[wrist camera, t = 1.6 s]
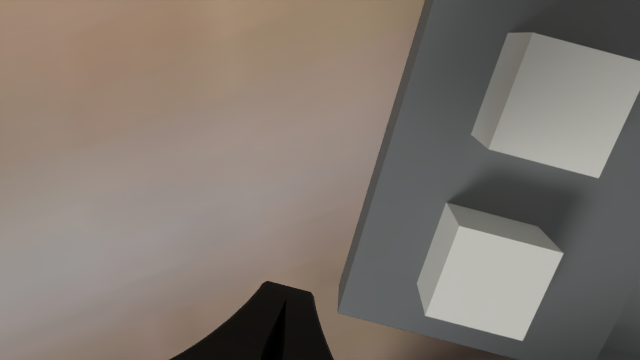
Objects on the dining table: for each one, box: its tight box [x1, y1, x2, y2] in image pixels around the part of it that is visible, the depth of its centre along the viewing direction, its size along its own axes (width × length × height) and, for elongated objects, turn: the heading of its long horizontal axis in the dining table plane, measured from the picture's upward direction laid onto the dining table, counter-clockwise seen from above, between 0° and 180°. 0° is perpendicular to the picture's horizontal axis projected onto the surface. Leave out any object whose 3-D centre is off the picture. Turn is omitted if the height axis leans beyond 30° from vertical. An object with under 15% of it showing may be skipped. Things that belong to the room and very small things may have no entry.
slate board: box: [338, 0, 640, 360], centre depth 20 cm, size 16×12×2 cm
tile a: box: [417, 202, 564, 341], centre depth 19 cm, size 4×4×2 cm
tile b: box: [471, 32, 640, 178], centre depth 17 cm, size 4×4×2 cm
